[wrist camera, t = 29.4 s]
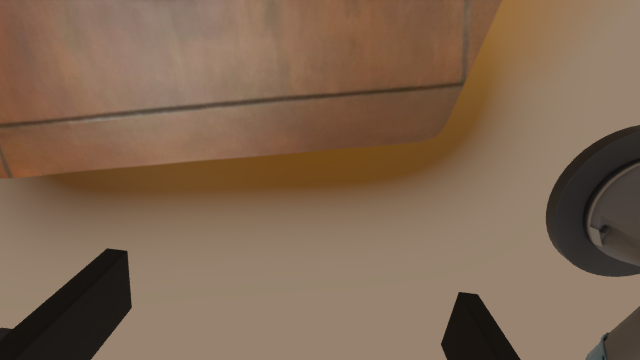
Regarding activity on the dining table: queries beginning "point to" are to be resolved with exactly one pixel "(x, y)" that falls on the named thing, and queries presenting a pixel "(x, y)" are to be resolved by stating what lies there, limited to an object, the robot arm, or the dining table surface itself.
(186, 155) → the dining table surface
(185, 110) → the dining table surface
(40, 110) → the dining table surface
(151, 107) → the dining table surface
